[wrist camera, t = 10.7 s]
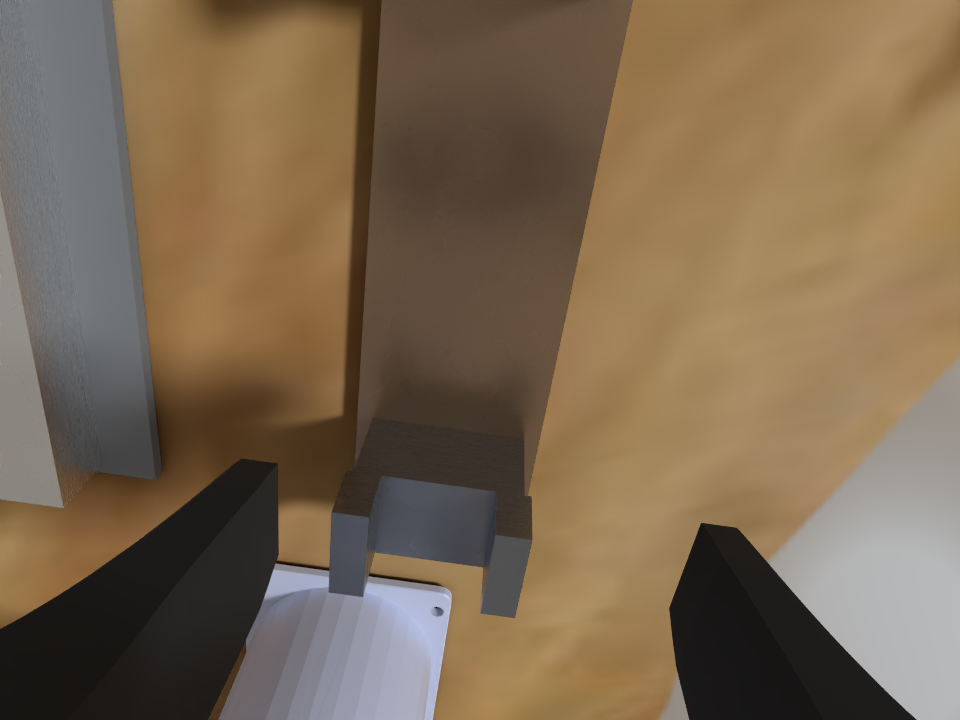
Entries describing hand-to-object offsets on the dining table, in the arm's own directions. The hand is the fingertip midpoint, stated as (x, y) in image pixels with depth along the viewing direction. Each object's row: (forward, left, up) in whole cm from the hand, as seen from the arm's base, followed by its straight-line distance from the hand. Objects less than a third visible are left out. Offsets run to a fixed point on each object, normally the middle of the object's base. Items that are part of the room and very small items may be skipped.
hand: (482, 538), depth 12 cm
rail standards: (+2, +1, -10) cm, 11 cm away
